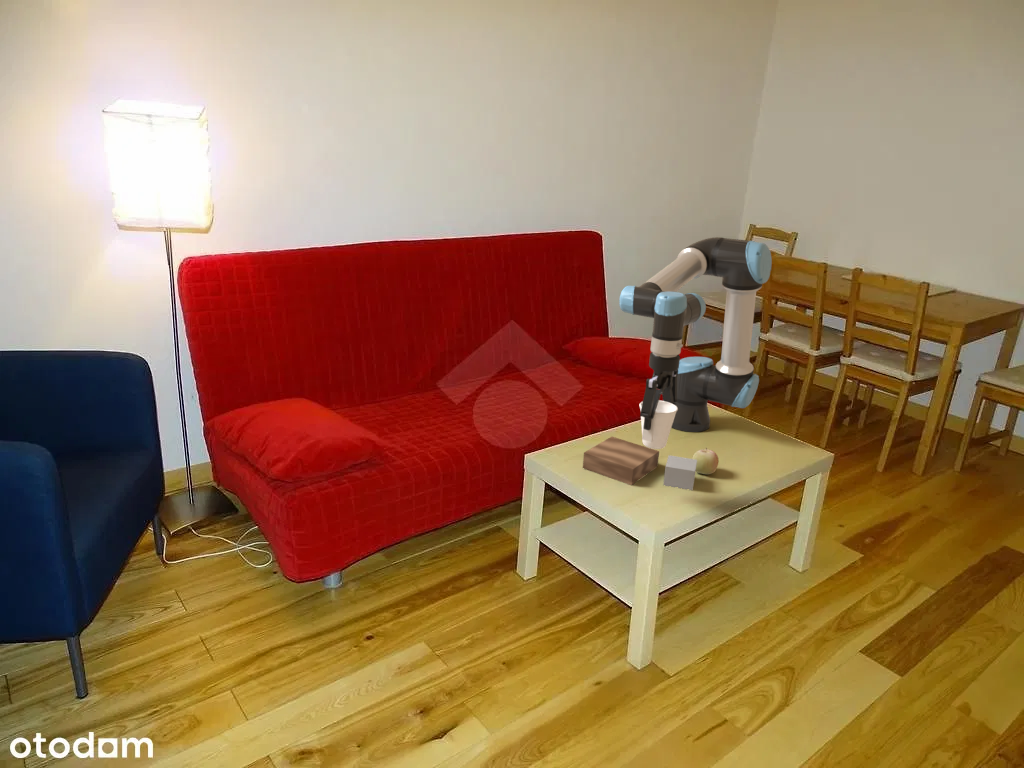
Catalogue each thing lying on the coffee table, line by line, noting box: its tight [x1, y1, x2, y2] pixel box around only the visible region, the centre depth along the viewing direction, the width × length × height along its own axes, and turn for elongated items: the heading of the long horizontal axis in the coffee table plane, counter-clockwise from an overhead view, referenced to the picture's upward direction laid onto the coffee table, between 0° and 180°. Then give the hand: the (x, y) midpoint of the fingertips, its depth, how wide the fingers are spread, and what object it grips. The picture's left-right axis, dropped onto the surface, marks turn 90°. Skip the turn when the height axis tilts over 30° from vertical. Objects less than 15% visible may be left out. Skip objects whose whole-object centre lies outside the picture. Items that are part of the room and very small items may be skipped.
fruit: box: [691, 447, 719, 475], centre depth 207 cm, size 8×7×8 cm
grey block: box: [662, 454, 697, 491], centre depth 201 cm, size 8×8×6 cm
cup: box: [639, 399, 678, 450], centre depth 188 cm, size 10×10×11 cm
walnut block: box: [582, 436, 660, 486], centre depth 208 cm, size 16×16×5 cm
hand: (655, 434), depth 189 cm, fingers closed on cup, 9 cm apart
